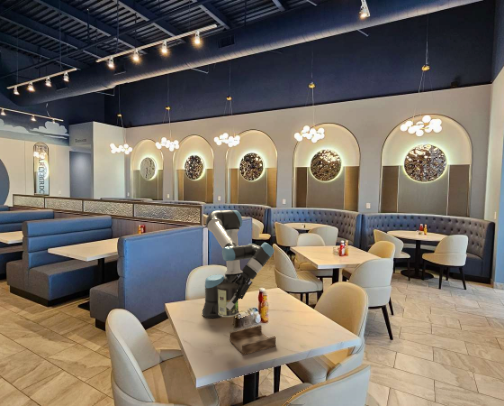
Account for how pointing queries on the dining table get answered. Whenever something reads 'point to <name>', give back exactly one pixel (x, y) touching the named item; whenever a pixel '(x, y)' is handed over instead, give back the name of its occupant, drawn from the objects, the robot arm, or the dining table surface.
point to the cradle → (251, 340)
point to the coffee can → (227, 299)
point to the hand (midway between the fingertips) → (223, 304)
